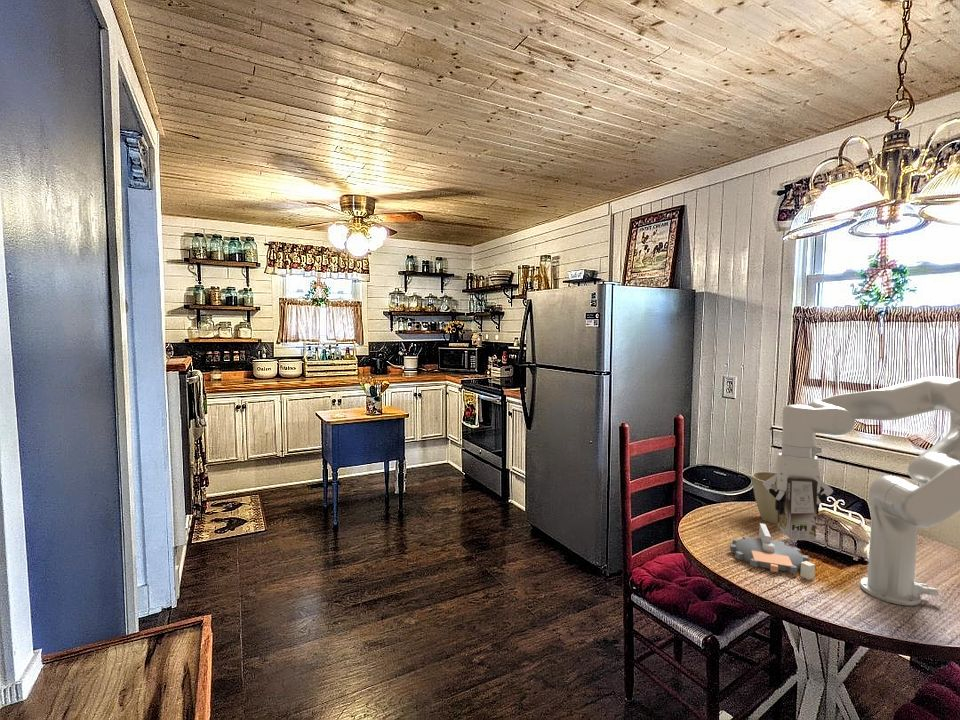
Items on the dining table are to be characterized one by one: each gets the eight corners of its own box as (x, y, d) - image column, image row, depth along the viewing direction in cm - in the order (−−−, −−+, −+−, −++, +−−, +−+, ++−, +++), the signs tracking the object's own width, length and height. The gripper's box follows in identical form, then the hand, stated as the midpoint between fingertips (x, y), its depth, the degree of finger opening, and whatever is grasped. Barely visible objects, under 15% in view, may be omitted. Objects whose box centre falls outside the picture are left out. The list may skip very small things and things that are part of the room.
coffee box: (816, 541, 128) (818, 481, 127) (789, 539, 130) (791, 480, 128) (801, 527, 137) (803, 471, 136) (776, 526, 138) (777, 470, 137)
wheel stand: (802, 557, 151) (803, 544, 151) (815, 581, 137) (816, 567, 137) (747, 548, 157) (748, 536, 157) (754, 570, 143) (755, 557, 143)
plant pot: (747, 521, 178) (749, 479, 177) (752, 509, 191) (754, 469, 189) (796, 531, 170) (798, 487, 169) (797, 518, 182) (800, 476, 181)
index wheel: (798, 545, 158) (799, 528, 157) (817, 578, 137) (818, 559, 136) (726, 534, 165) (727, 518, 165) (734, 564, 145) (734, 546, 144)
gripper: (832, 450, 132) (830, 513, 133) (759, 445, 138) (757, 506, 140) (841, 457, 125) (838, 524, 126) (763, 451, 131) (762, 515, 133)
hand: (796, 514), depth 133 cm, fingers closed on coffee box, 7 cm apart
